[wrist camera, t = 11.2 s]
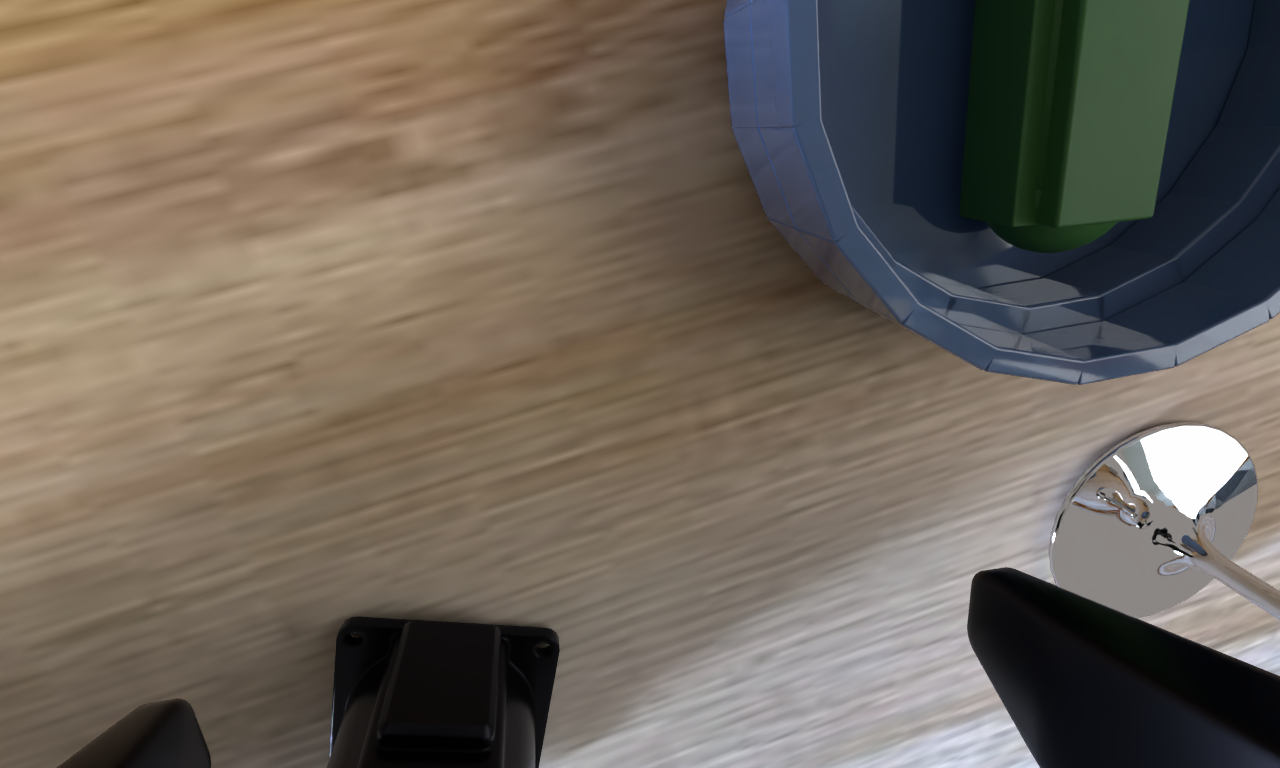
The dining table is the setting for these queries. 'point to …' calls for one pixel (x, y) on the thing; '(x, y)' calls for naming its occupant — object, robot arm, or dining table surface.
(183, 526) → the dining table surface
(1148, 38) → the green domed grooved pillar
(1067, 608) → the robot arm
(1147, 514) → the wineglass
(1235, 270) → the bowl
